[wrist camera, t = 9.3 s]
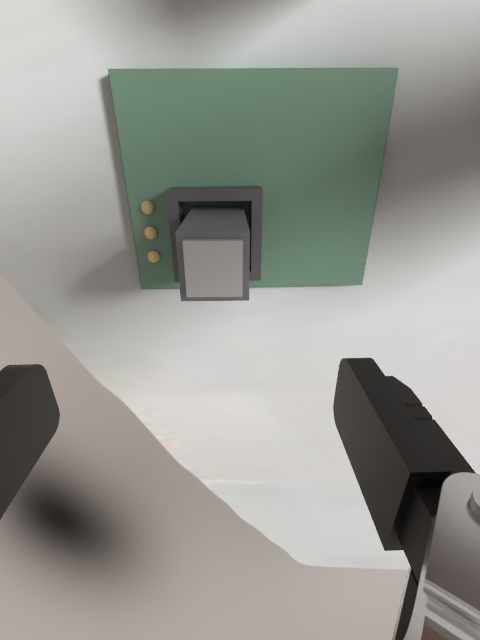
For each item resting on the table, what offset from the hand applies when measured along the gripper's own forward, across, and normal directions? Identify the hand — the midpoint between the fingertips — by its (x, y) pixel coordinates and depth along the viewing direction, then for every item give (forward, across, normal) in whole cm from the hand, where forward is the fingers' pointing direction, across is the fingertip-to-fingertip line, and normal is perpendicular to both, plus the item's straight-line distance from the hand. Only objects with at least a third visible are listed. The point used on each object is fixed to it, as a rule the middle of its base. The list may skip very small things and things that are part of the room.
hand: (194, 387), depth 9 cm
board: (+22, -3, -3) cm, 22 cm away
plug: (+20, 0, 0) cm, 21 cm away
